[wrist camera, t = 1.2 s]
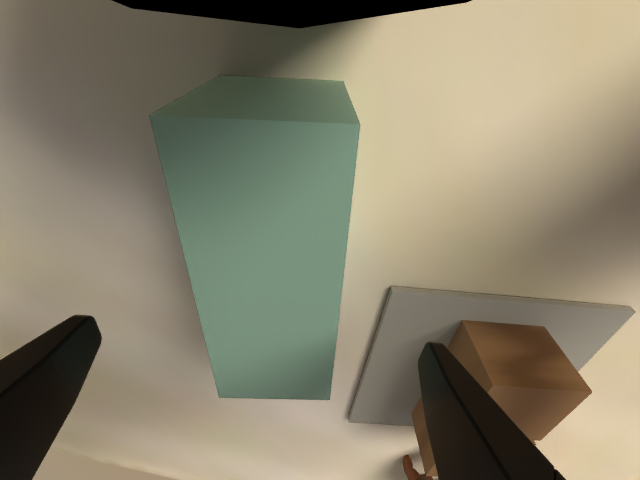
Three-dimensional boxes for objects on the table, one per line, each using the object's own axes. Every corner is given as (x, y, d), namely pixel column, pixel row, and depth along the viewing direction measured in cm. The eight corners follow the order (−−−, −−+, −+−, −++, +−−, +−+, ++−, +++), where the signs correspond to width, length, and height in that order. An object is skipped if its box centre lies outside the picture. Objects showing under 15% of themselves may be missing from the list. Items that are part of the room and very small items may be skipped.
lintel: (220, 74, 12) (148, 115, 7) (343, 80, 12) (360, 124, 7) (246, 293, 18) (218, 397, 13) (326, 295, 18) (329, 400, 13)
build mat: (630, 306, 18) (635, 311, 18) (517, 426, 26) (519, 431, 26) (391, 285, 17) (392, 291, 17) (348, 417, 25) (348, 422, 25)
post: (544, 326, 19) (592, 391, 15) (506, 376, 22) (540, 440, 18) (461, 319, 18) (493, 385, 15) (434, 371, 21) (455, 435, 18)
